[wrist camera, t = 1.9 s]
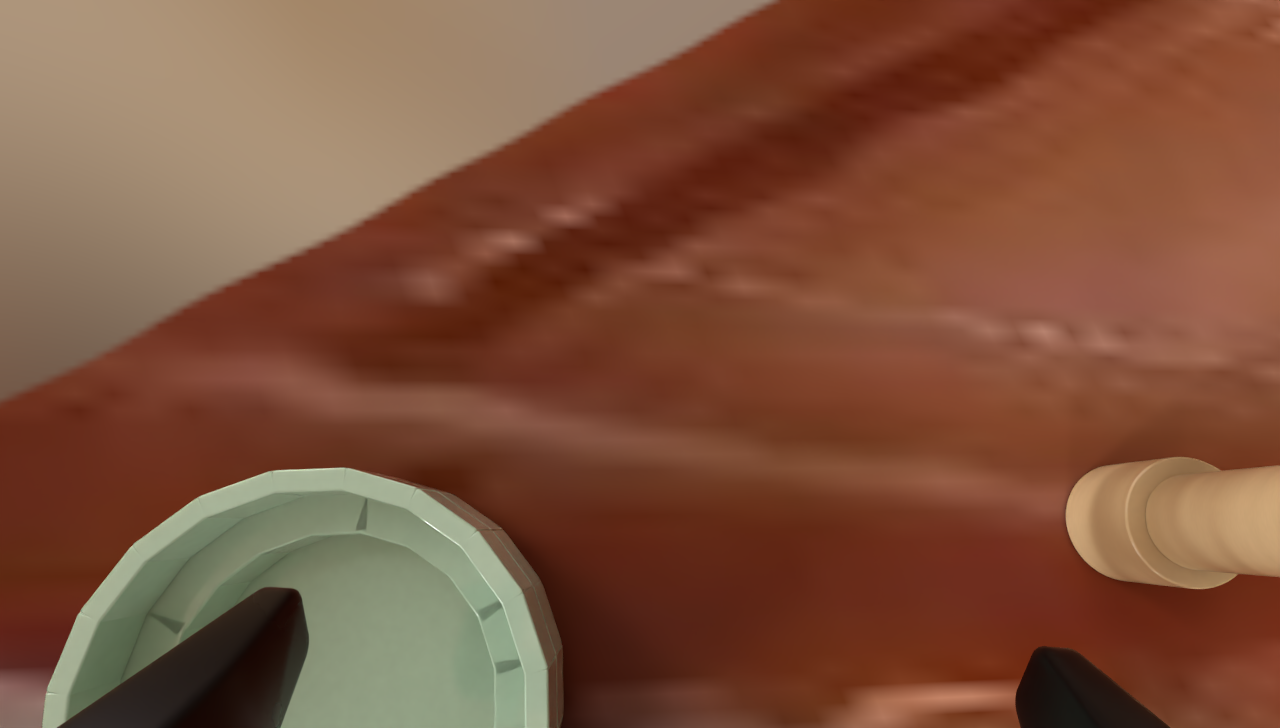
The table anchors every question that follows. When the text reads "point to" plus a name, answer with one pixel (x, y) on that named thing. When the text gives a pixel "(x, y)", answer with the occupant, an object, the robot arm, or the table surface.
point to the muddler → (1177, 522)
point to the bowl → (337, 603)
